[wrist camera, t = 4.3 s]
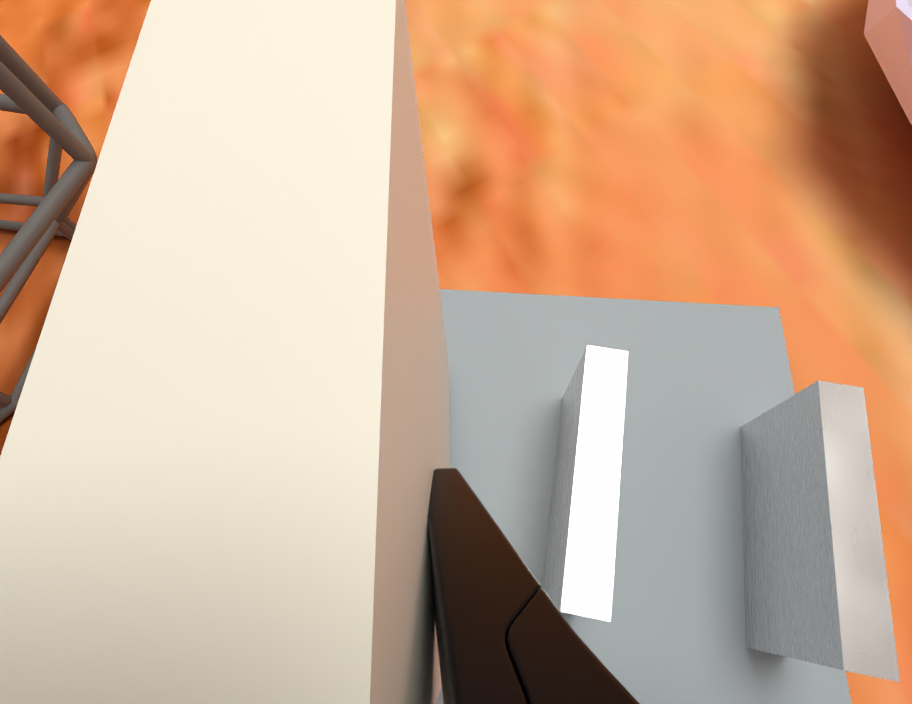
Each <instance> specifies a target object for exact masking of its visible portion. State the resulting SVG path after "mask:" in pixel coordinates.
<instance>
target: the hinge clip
mask: <svg viewBox="0 0 912 704" xmlns="http://www.w3.org/2000/svg"><path fill="white" fill-rule="evenodd" d="M627 364H628V351H622V350H616V349H609V348H603V347H596V346H590V345H587V346H586V348H585V351H584V353H583V355H582V357H581V359H580V361H579V363H578V366H577V368H576V370H575V372H574V374H573V376H572V378H571V381H570V383H569V385H568V387H567V389H566V391H565V393H564V395H563V398H562V407H561V415H560V424H559V433H558V442H557V450H556V459H555V468H554V477H553V485H552V494H551V503H550V512H549V520H548V529H547V538H546V547H545V555H544V564H543V573H542V582H541V587H542V589H543V590H544V591H545V592H546V593H547V595H548V596H549V598H550V599H551V600H552V602H553V603H554V605H555V606H556V607H557V609H558V610H559V611H560V612H565V613H570V614H574V615H579V616H584V617H589V618H594V619H598V620H603V621H608V622H611V611H612V596H613V580H614V565H615V549H616V534H617V518H618V503H619V488H620V472H621V457H622V441H623V426H624V410H625V395H626V380H627ZM740 435H741V475H742V515H743V554H744V594H745V633H746V648H750V649H755V650H759V651H763V652H767V653H772V654H776V655H780V656H784V657H789V658H793V659H797V660H801V661H806V662H810V663H814V664H818V665H823V666H827V667H831V668H835V669H840V670H844V671H849V672H854V673H858V674H863V675H868V676H873V677H878V678H882V679H887V680H892V681H897V682H900V679H899V671H898V663H897V654H896V646H895V638H894V630H893V622H892V614H891V606H890V598H889V590H888V582H887V574H886V566H885V558H884V550H883V541H882V533H881V525H880V517H879V509H878V501H877V493H876V485H875V477H874V469H873V461H872V453H871V445H870V437H869V428H868V420H867V412H866V404H865V396H864V388H862V387H856V386H850V385H843V384H837V383H830V382H824V381H817V382H815V383H814V384H812V385H810V386H808V387H807V388H805V389H803V390H802V391H800V392H798V393H797V394H795V395H793V396H792V397H790V398H788V399H787V400H785V401H783V402H781V403H780V404H778V405H776V406H775V407H773V408H771V409H770V410H768V411H766V412H765V413H763V414H761V415H760V416H758V417H756V418H754V419H753V420H751V421H749V422H748V423H746V424H744V425H743V426H741V427H740Z"/></svg>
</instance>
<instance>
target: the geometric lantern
mask: <svg viewBox="0 0 912 704" xmlns="http://www.w3.org/2000/svg"><path fill="white" fill-rule="evenodd" d="M0 90H1V91H2V92H4V93H5V94H6V95H5V94H0V110H2V111H9V112H15V113H22V114H27V115H28V116H29V117H30V118H31V119H32V120H33V121H34V122H35V123H36V124H37V125H38V126H39V127H40V128H41V129H42V130H43V131H45V132H46V133H47V134H48V135H49V136H50V144H49V152H48V160H47V168H46V177H45V185H44V193H43V197H41V196H29V195H17V194H5V193H0V203H3V204H15V205H27V206H38V207H37V208H36V209H35V211H34V212H33V213H32V214H31V216H30V217H29V218H28V220H27V221H26V222H25V223H22V222H14V221H5V220H0V229H4V230H12V231H18V232H17V234H16V235H15V236H14V237H13V239H12V240H11V241H10V243H9V244H8V245H7V246H6V248H5V249H4V250H3V252H2V253H1V254H0V293H1V291H2V290H3V289H4V287H5V286H6V285H7V283H8V282H9V281H10V279H11V278H12V277H13V278H12V279H11V281H10V283H9V284H8V286H7V287H6V289H5V291H4V292H3V294H2V295H1V297H0V323H1V322H2V320H3V319H4V317H5V315H6V314H7V312H8V310H9V309H10V307H11V305H12V304H13V302H14V301H15V299H16V297H17V296H18V294H19V292H20V291H21V289H22V288H23V286H24V284H25V283H26V281H27V279H28V278H29V276H30V275H31V273H32V271H33V270H34V268H35V266H36V265H37V263H38V262H39V260H40V258H41V257H42V255H43V253H44V252H45V250H46V248H47V247H48V245H49V244H50V242H51V240H52V239H53V237H54V236H61V237H67V238H68V239H69V240H71V241H72V238H73V235H74V232H75V229H76V225H75V224H74V223H73V222H72V221H71V220H70V219H69V218H68V217H67V216H68V215H69V213H70V211H71V210H72V208H73V206H74V205H75V203H76V201H77V200H78V198H79V196H80V195H81V193H82V191H83V190H84V188H85V186H86V185H87V183H88V182H89V180H90V178H91V177H92V175H93V173H94V171H95V168H96V163H97V156H96V153H95V151H94V149H93V147H92V145H91V143H90V142H89V140H88V138H87V137H86V135H85V133H84V132H83V130H82V128H81V127H80V125H79V123H78V122H77V120H76V118H75V117H74V115H73V114H72V112H71V111H70V110H69V108H68V107H67V106H66V105H65V104H64V103H62V101H61V100H60V99H59V98H58V97H57V96H56V95H55V94H54V93H53V92H52V91H51V90H50V89H49V87H48V86H47V85H46V84H45V83H44V82H43V81H42V80H41V79H40V78H39V77H38V75H37V74H36V73H35V72H34V71H33V70H32V69H31V68H30V67H29V66H28V65H27V64H26V62H25V61H24V60H23V59H22V58H21V57H20V56H19V55H18V54H17V53H16V52H15V50H14V49H13V48H12V47H11V46H10V45H9V44H8V43H7V42H6V41H5V40H4V38H3V37H2V36H1V35H0ZM62 149H63V150H65V151H66V152H67V153H68V154H69V155H70V156H71V157H72V158H73V159H74V161H73V162H72V163H71V164H70V166H69V167H68V168H67V169H66V171H65V172H64V173H63V175H62V176H61V177H60V178H59V180H58V176H59V168H60V161H61V153H62ZM16 271H17V272H16ZM14 274H15V275H14ZM13 275H14V276H13ZM36 347H37V346H36ZM35 350H36V348H35ZM35 350H34V352H33V354H32V356H31V358H30V360H29V362H28V363H27V365H26V367H25V369H24V371H23V373H22V375H21V377H20V379H19V381H18V382H17V384H16V386H15V388H14V390H13V392H12V394H11V396H8V395H6V394H3V393H1V392H0V405H3V406H2V407H1V408H0V423H1V422H2V421H3V420H4V419H6V418H7V417H8V416H9V415H11V414H12V413H13V412H14V411H15V410H16V407H17V404H18V401H19V398H20V395H21V392H22V389H23V386H24V383H25V380H26V377H27V374H28V371H29V368H30V365H31V362H32V359H33V356H34V353H35Z"/></svg>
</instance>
